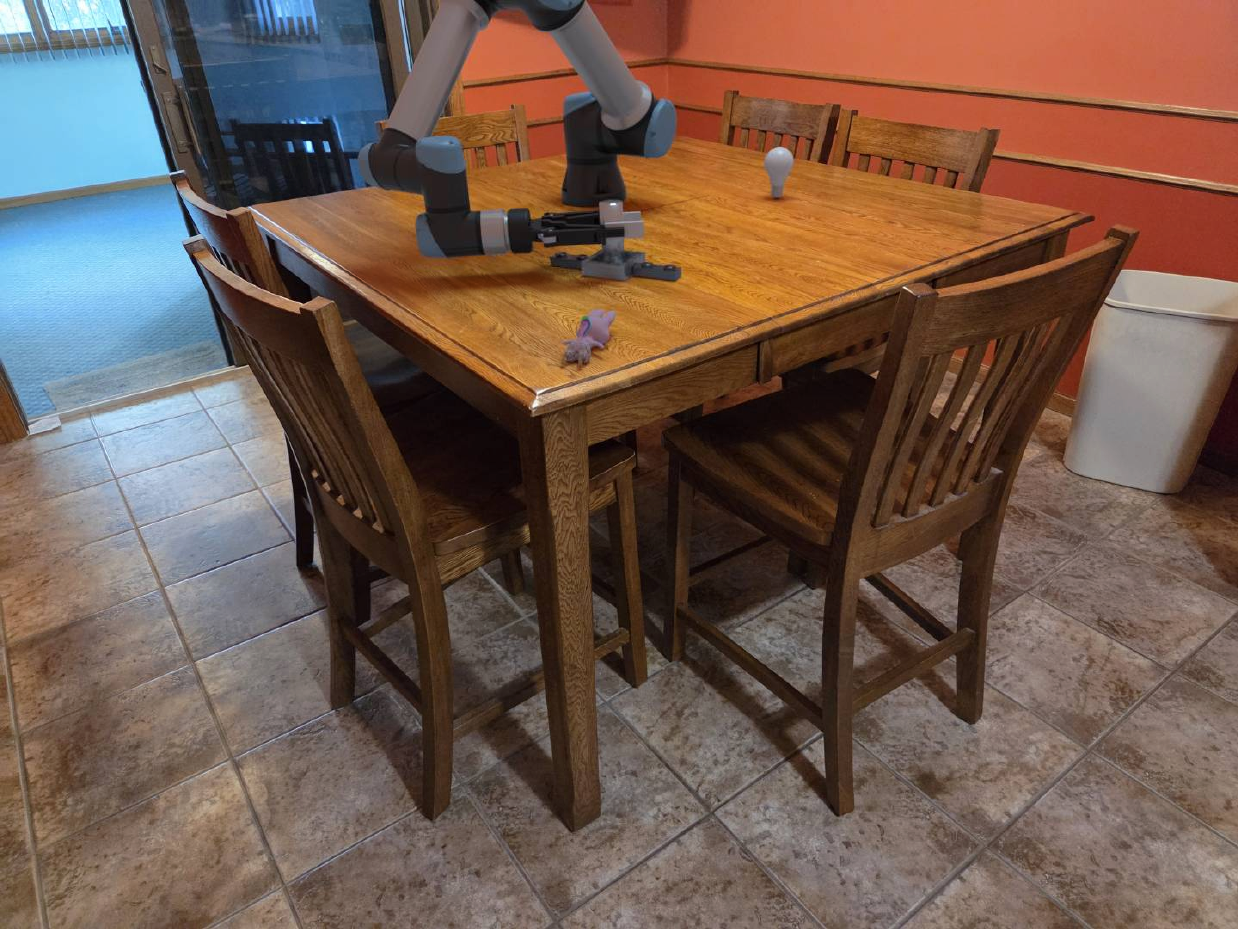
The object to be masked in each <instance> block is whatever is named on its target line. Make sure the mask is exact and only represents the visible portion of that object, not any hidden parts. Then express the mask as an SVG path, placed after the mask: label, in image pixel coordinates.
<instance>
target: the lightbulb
mask: <svg viewBox="0 0 1238 929" xmlns="http://www.w3.org/2000/svg"><path fill="white" fill-rule="evenodd" d="M793 166H794V156H793V154H792V152H791V151H790V150H789V149H788V148H786V147H783V146H778V147H774V148H772V149H770V151H768V152H767V154H766V155H765V158H764V168H765V171H766V173H767V175H768V177H769V181H770V185H771V188H770V189H771V190H770V191H771V192H770V193H771V194H770V196H771V197H772V198H773V199H775V200H778V199H781V198H782V197H783V196H784V195H783V194H784V185H785V182H786V180H787V177H788V175H789V174H790V172H791V171H792V169H793Z"/></svg>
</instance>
